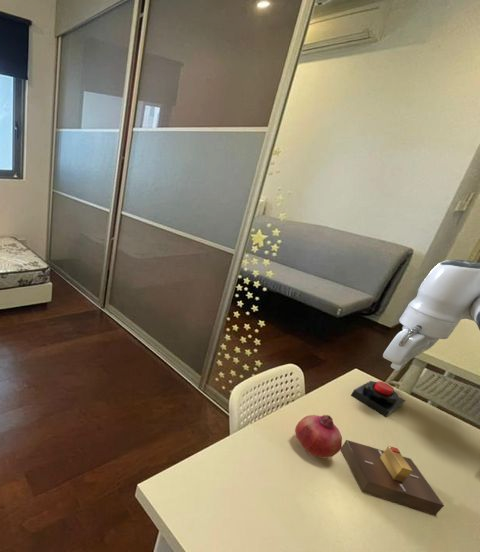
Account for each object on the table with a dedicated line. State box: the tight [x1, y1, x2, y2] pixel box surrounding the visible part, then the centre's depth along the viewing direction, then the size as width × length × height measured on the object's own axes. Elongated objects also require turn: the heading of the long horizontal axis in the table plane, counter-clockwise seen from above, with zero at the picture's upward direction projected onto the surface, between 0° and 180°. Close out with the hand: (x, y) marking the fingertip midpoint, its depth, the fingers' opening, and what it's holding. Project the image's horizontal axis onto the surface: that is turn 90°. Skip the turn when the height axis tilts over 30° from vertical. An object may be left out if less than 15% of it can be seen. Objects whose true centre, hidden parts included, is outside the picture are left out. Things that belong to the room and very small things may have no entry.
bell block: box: [350, 380, 406, 418], centre depth 87 cm, size 10×8×4 cm
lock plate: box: [340, 439, 445, 516], centre depth 65 cm, size 12×10×3 cm
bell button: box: [374, 380, 395, 396], centre depth 86 cm, size 4×4×2 cm
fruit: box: [294, 414, 343, 459], centre depth 68 cm, size 8×8×10 cm
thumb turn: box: [380, 445, 412, 482], centre depth 64 cm, size 5×2×4 cm, turn 163°
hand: (396, 367), depth 83 cm, fingers closed
